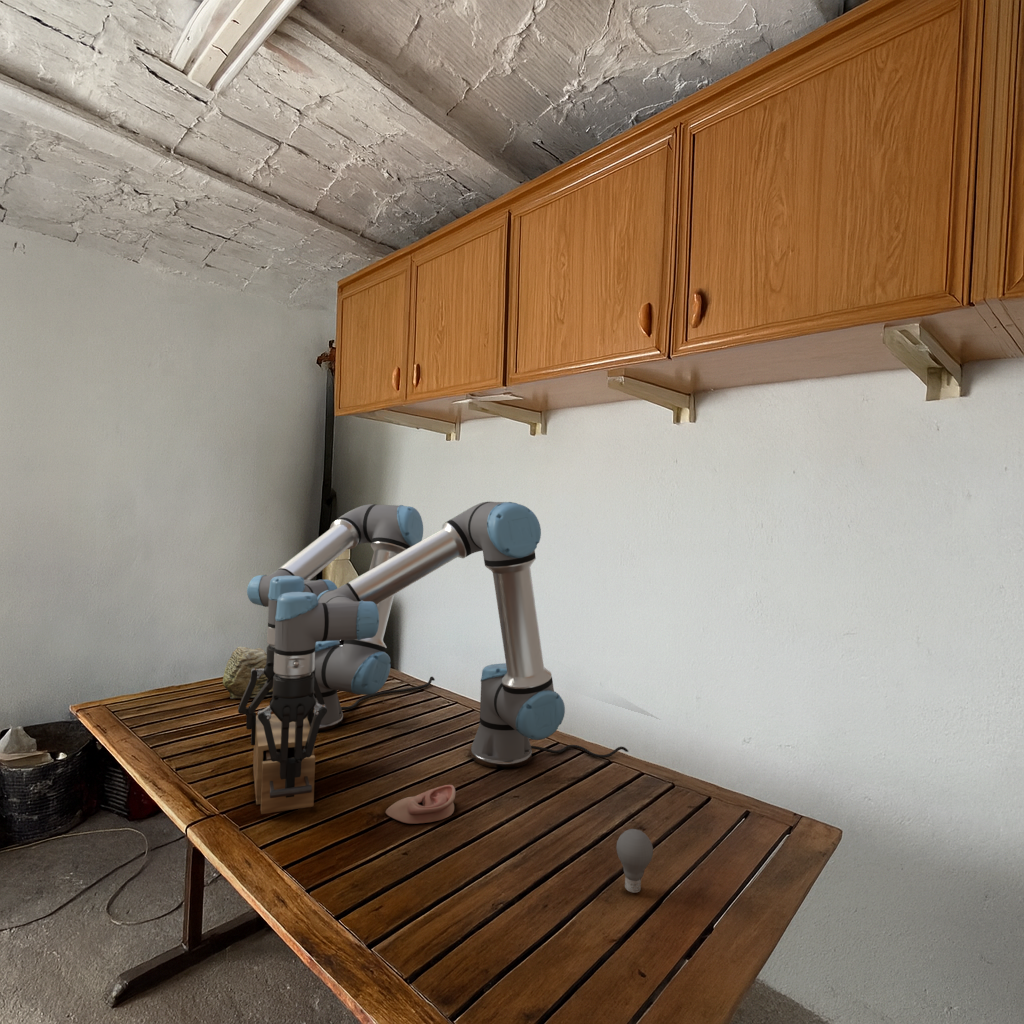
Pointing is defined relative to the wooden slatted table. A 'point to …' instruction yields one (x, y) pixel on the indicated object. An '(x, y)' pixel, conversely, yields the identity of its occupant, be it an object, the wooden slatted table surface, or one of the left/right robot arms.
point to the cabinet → (262, 745)
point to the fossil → (244, 671)
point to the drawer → (275, 786)
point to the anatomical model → (424, 806)
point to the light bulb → (634, 857)
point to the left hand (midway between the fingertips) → (280, 740)
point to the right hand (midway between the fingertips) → (289, 793)
